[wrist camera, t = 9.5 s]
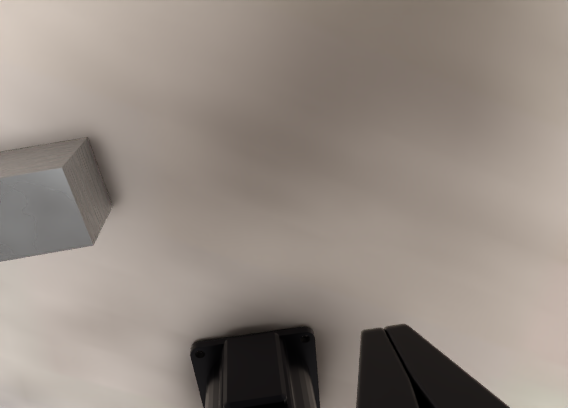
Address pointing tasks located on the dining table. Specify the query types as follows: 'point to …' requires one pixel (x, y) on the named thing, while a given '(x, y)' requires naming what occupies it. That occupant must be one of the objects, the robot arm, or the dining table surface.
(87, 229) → the long grey bar
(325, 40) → the dining table surface
